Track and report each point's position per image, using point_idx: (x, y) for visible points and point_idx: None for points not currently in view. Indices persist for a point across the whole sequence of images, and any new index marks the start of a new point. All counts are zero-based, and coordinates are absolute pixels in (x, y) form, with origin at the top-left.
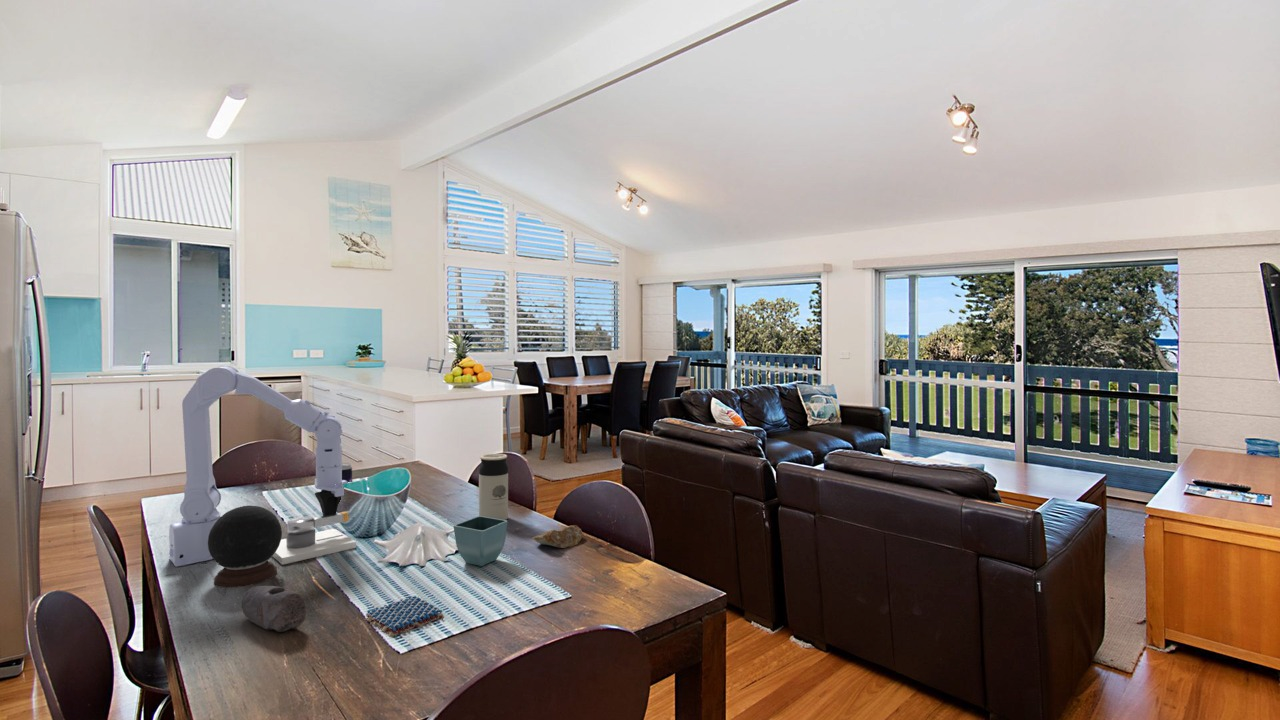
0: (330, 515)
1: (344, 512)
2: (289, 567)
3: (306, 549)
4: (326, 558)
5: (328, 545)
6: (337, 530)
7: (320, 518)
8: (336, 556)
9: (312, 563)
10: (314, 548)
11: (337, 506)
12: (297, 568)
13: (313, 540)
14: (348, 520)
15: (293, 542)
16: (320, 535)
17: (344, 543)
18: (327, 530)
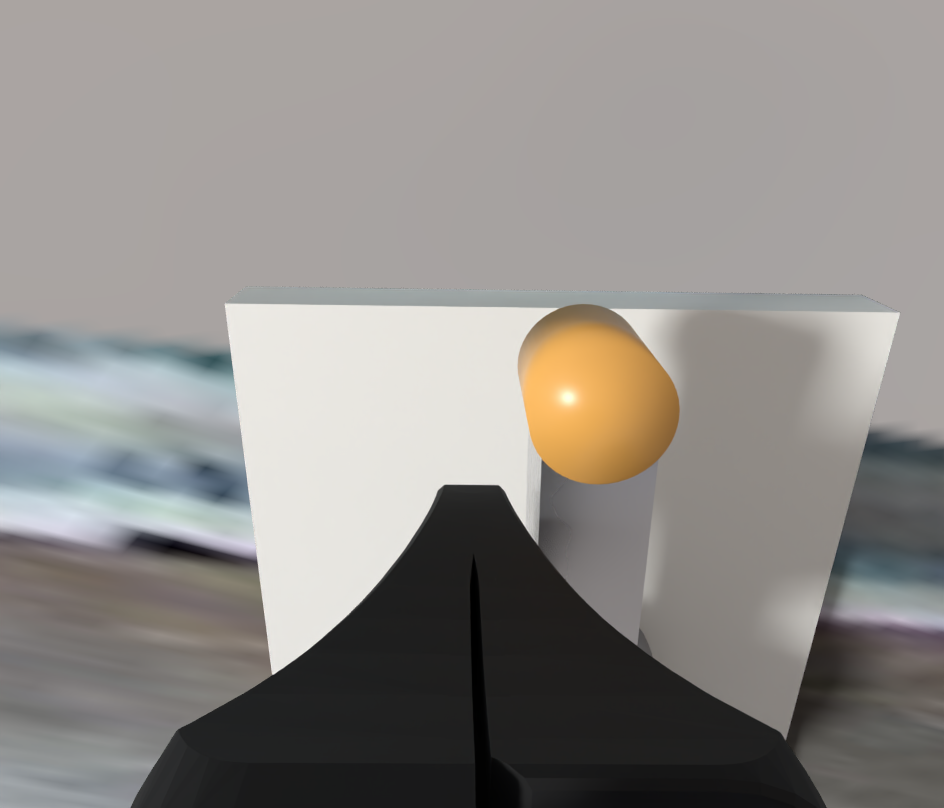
0: None
1: (594, 412)
2: (832, 771)
3: (719, 688)
4: (889, 569)
5: (774, 543)
6: (332, 306)
7: None
8: (919, 503)
9: (898, 664)
10: (746, 641)
11: (568, 586)
12: (899, 747)
13: (638, 643)
14: (626, 322)
15: None
16: (394, 493)
17: (853, 422)
18: (252, 384)
